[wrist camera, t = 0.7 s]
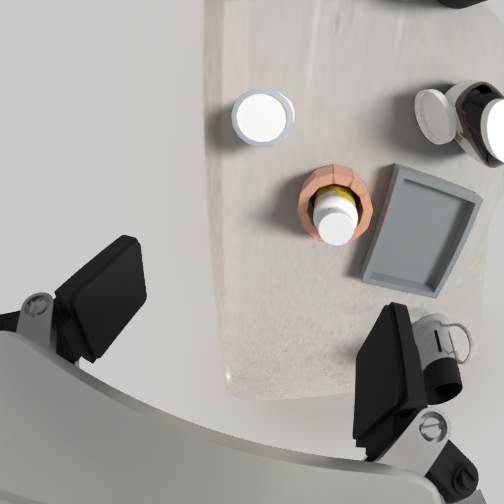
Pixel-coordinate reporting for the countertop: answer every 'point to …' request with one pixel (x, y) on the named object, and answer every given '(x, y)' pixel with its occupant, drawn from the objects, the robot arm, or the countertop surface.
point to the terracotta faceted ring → (328, 177)
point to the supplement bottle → (335, 214)
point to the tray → (419, 233)
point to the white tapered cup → (262, 117)
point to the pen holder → (460, 3)
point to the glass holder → (439, 357)
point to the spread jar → (465, 119)
